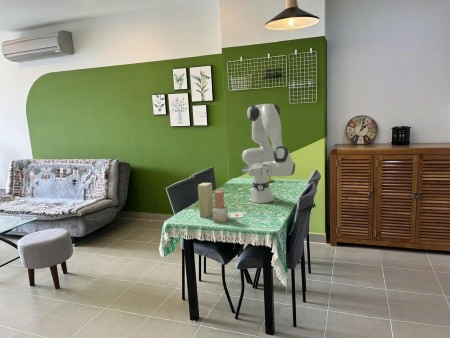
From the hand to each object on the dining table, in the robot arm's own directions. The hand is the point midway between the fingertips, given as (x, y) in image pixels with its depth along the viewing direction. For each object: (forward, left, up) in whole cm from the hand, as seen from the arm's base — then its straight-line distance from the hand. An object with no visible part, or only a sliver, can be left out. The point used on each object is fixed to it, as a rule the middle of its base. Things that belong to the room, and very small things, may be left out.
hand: (243, 169), depth 202 cm
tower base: (-1, -16, -32) cm, 36 cm away
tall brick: (-1, -16, -24) cm, 29 cm away
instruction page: (-10, -7, -32) cm, 34 cm away
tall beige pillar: (-10, -27, -32) cm, 43 cm away
